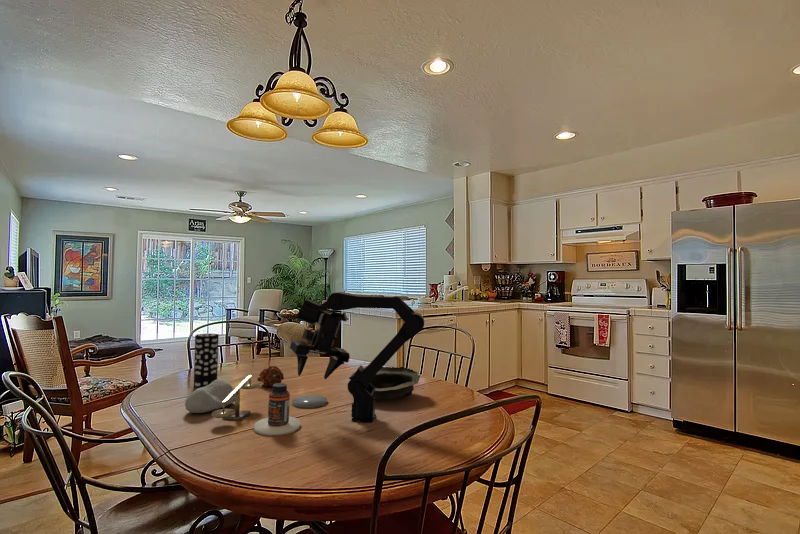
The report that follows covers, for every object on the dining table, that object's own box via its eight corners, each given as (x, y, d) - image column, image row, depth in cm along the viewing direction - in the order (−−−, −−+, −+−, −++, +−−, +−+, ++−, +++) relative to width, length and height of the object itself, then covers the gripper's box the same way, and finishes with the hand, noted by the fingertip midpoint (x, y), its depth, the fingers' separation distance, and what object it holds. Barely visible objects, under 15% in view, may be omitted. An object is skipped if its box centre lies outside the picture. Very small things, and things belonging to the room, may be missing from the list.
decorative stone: (218, 391, 147) (229, 370, 144) (236, 411, 143) (247, 389, 141) (173, 409, 131) (185, 385, 128) (192, 431, 128) (204, 407, 125)
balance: (262, 406, 140) (263, 373, 140) (227, 430, 118) (228, 391, 118) (245, 405, 140) (245, 372, 141) (206, 428, 119) (207, 389, 119)
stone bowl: (421, 388, 166) (422, 365, 165) (417, 413, 141) (418, 386, 141) (360, 384, 168) (361, 362, 168) (346, 408, 144) (347, 382, 143)
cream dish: (307, 421, 127) (307, 417, 127) (289, 437, 114) (290, 433, 114) (266, 418, 128) (266, 414, 128) (245, 433, 116) (245, 430, 116)
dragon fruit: (279, 393, 161) (260, 392, 168) (292, 376, 167) (274, 376, 174) (267, 377, 158) (248, 377, 165) (281, 361, 164) (262, 361, 171)
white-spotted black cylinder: (193, 384, 165) (195, 333, 166) (216, 382, 169) (218, 333, 169) (193, 389, 158) (194, 336, 158) (217, 387, 161) (218, 336, 161)
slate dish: (331, 398, 150) (331, 396, 150) (320, 409, 138) (320, 406, 138) (299, 396, 151) (299, 394, 152) (286, 406, 140) (286, 403, 140)
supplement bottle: (264, 426, 118) (265, 386, 119) (272, 419, 124) (273, 381, 125) (284, 427, 118) (285, 387, 118) (291, 420, 124) (292, 382, 124)
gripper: (342, 328, 143) (327, 370, 143) (292, 317, 133) (276, 363, 133) (357, 338, 134) (341, 384, 134) (304, 327, 124) (287, 377, 123)
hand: (312, 377), depth 131 cm, fingers open, 9 cm apart
